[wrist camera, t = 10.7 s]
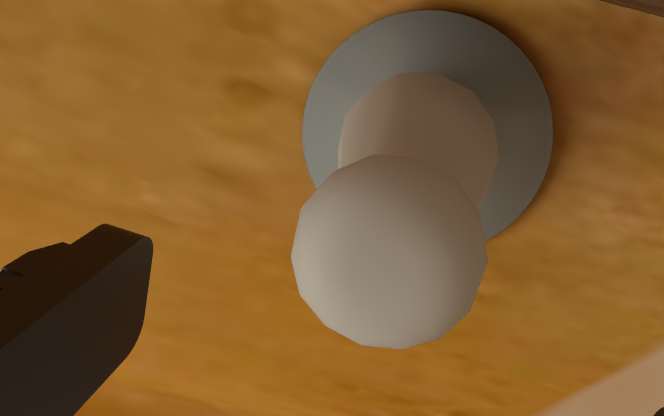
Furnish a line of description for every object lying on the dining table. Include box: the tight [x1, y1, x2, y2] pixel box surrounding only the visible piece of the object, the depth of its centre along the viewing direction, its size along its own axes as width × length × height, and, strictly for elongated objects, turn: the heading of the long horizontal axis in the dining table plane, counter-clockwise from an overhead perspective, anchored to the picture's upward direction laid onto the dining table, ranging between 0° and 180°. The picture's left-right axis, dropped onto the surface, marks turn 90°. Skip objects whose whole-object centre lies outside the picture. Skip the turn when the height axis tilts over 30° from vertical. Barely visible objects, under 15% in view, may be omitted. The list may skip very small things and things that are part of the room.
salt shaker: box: [291, 72, 499, 349], centre depth 18 cm, size 6×6×13 cm
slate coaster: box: [302, 10, 553, 241], centre depth 25 cm, size 10×10×1 cm
